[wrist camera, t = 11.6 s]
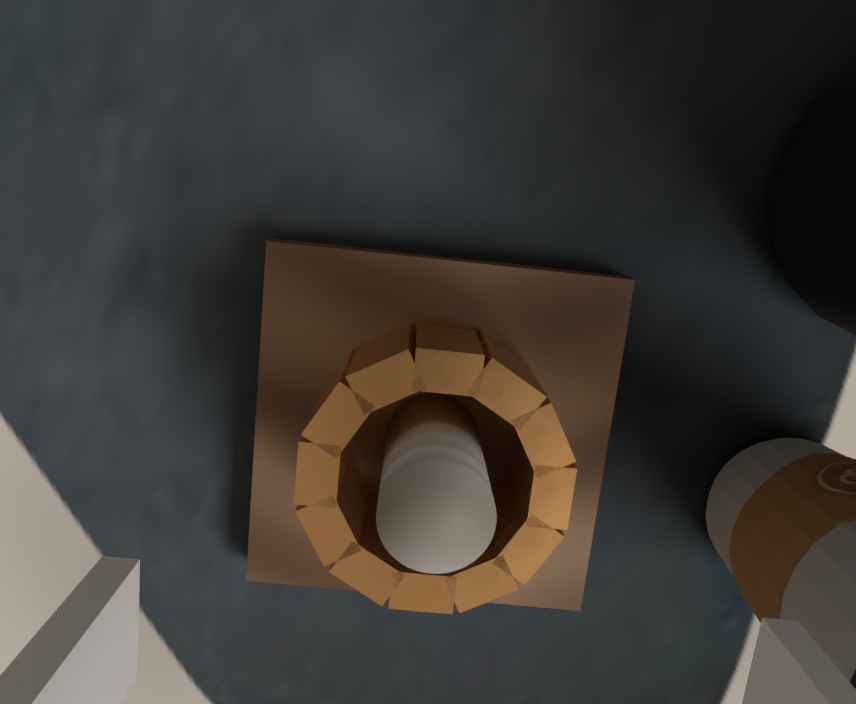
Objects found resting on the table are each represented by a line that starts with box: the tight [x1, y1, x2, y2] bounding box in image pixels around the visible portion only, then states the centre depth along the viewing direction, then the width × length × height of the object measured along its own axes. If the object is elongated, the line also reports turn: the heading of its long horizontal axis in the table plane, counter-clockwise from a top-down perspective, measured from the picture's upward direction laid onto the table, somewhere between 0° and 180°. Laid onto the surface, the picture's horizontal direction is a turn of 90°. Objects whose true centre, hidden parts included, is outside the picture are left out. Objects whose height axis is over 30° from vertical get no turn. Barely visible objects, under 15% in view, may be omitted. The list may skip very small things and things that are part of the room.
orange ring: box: [294, 321, 577, 614], centre depth 27 cm, size 9×9×5 cm
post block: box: [246, 239, 635, 611], centre depth 26 cm, size 14×14×9 cm
